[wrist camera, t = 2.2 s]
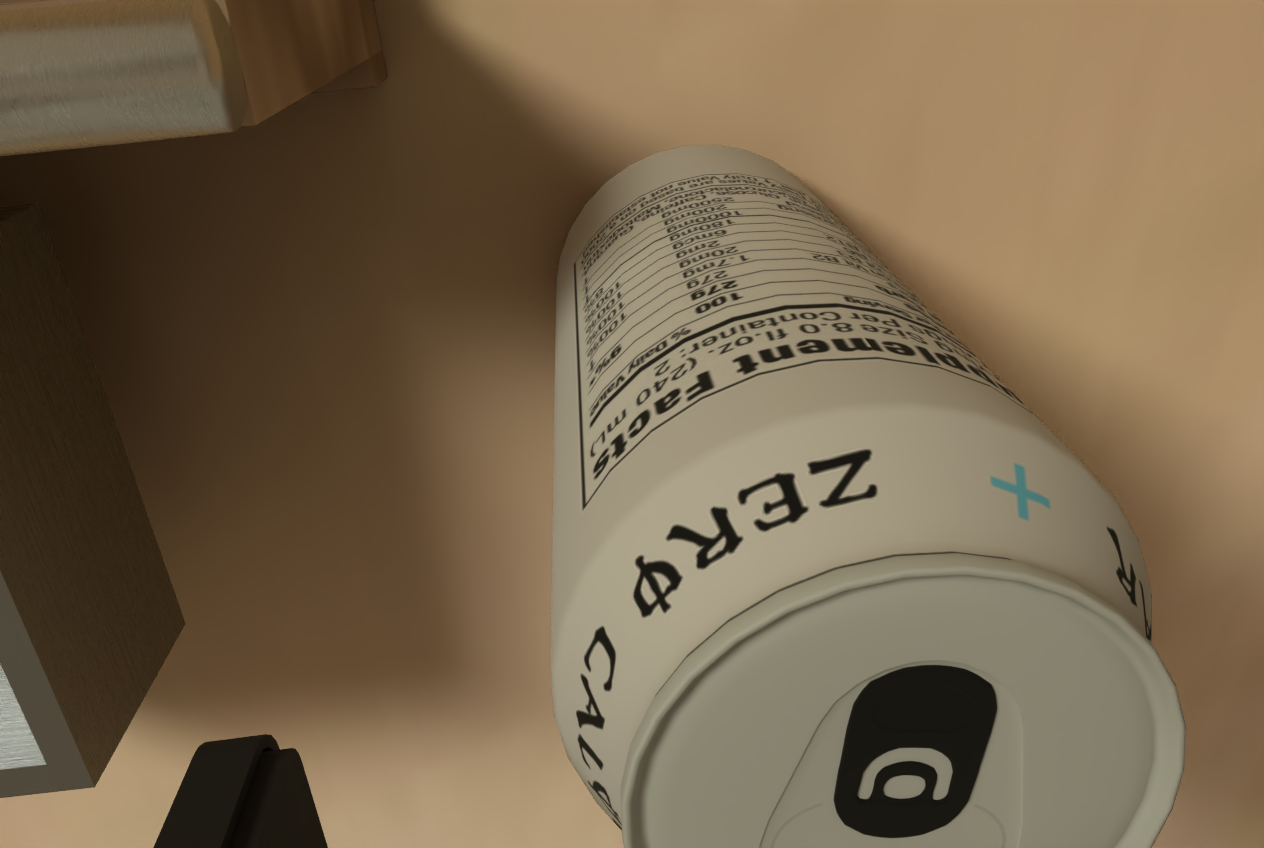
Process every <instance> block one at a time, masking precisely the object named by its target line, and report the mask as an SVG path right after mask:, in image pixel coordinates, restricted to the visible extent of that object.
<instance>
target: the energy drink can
mask: <svg viewBox="0 0 1264 848" xmlns="http://www.w3.org/2000/svg"><path fill="white" fill-rule="evenodd" d="M1151 618H1152V595H1151V588H1150V583H1149V579H1148V575H1147V571H1146V567H1145V563H1144V559H1143V555H1142V551H1141V547H1140V543H1139V540H1138V538H1137V536H1136V534H1135V532H1134V530H1133V529H1132V527H1131V525H1130V523H1129V521H1128V520H1127V518H1126V516H1125V514H1124V512H1123V510H1122V509H1121V507H1120V505H1119V503H1118V501H1117V500H1116V498H1115V496H1114V495H1113V494H1112V493H1111V492H1110V491H1109V490H1108V489H1107V488H1106V487H1105V486H1104V485H1103V484H1102V483H1101V482H1100V481H1099V480H1098V479H1097V478H1096V476H1095V475H1094V474H1093V473H1092V472H1091V471H1090V470H1089V469H1088V468H1087V467H1086V466H1085V465H1084V464H1083V463H1082V462H1081V461H1080V460H1079V459H1078V458H1077V457H1076V456H1075V455H1074V454H1073V453H1072V452H1071V451H1070V450H1069V449H1068V448H1067V447H1066V446H1065V445H1064V444H1063V443H1062V442H1061V441H1060V440H1059V439H1058V438H1057V437H1056V436H1055V435H1054V434H1053V433H1052V432H1051V431H1050V430H1049V429H1048V428H1047V427H1046V426H1045V425H1044V424H1043V423H1042V422H1041V421H1040V420H1039V419H1038V418H1037V417H1036V416H1035V415H1034V414H1033V413H1032V412H1031V411H1030V410H1029V409H1028V408H1027V407H1026V406H1025V405H1024V404H1023V403H1022V402H1021V401H1020V400H1019V399H1018V398H1017V397H1016V396H1015V395H1014V394H1013V393H1012V392H1011V391H1010V390H1009V389H1008V388H1007V387H1006V386H1005V385H1004V384H1003V383H1002V382H1001V381H1000V380H999V379H998V378H997V377H996V376H995V375H994V374H993V373H992V372H991V371H990V370H989V369H988V368H987V367H986V366H985V365H984V364H983V363H982V362H981V361H980V360H979V359H978V358H977V357H976V356H975V355H974V354H973V353H972V352H971V351H970V350H969V349H968V348H967V347H966V346H965V345H964V344H963V343H962V342H961V341H960V340H959V339H958V338H957V337H956V336H955V335H954V334H953V333H952V332H951V331H950V330H949V329H948V328H947V327H946V326H945V325H944V324H943V323H942V322H941V321H940V320H939V319H938V318H937V317H936V316H935V315H934V314H933V313H932V312H931V311H930V310H929V309H928V308H927V307H926V306H925V305H924V304H923V303H922V302H921V301H920V300H919V299H918V298H917V297H916V296H915V295H914V294H913V293H912V292H911V291H910V290H909V289H908V288H907V287H906V286H905V285H904V284H903V283H902V282H901V281H900V280H899V279H898V278H897V277H896V276H895V275H894V274H893V273H892V272H891V271H890V270H889V269H888V268H887V267H886V266H885V265H884V264H883V263H882V262H881V261H880V260H879V259H878V258H877V257H876V256H875V255H874V254H873V253H872V252H871V251H870V250H869V249H868V248H867V247H866V246H865V245H864V244H863V243H862V242H861V241H860V240H859V239H858V238H857V237H856V236H855V235H854V234H853V233H852V232H851V231H850V230H849V229H848V228H847V227H846V226H845V225H844V224H843V223H842V222H841V221H840V220H839V219H838V218H837V217H836V216H835V215H834V214H833V213H832V212H831V211H830V210H829V209H828V208H827V207H826V206H825V205H824V204H823V203H822V202H821V201H820V200H819V199H818V198H817V197H816V196H815V195H814V194H813V193H812V192H811V191H810V190H809V189H808V188H807V187H806V186H805V185H804V184H803V183H802V182H801V181H800V180H799V179H798V178H797V177H796V176H794V175H793V174H791V173H790V172H788V171H787V170H786V169H784V168H783V167H781V166H780V165H778V164H777V163H775V162H774V161H772V160H770V159H767V158H765V157H762V156H760V155H757V154H755V153H752V152H750V151H747V150H743V149H738V148H732V147H726V146H721V145H693V146H683V147H679V148H675V149H670V150H666V151H662V152H658V153H655V154H653V155H651V156H649V157H646V158H644V159H642V160H640V161H638V162H636V163H633V164H631V165H629V166H628V167H627V168H625V169H624V170H622V171H621V172H620V173H618V174H617V175H615V176H614V177H613V178H611V179H610V180H608V181H607V182H606V183H605V184H604V185H603V186H602V187H601V188H600V189H599V190H598V191H597V192H596V193H595V195H594V196H593V197H592V198H591V199H590V200H589V201H588V202H587V203H586V204H585V206H584V207H583V209H582V211H581V212H580V214H579V216H578V217H577V219H576V220H575V222H574V224H573V225H572V227H571V228H570V231H569V234H568V236H567V239H566V242H565V245H564V247H563V250H562V253H561V255H560V262H559V269H558V275H557V282H556V338H555V406H554V474H553V542H552V609H551V680H552V694H553V709H554V716H555V719H556V723H557V726H558V729H559V732H560V735H561V738H562V741H563V744H564V747H565V750H566V753H567V756H568V758H569V760H570V762H571V763H572V765H573V766H574V768H575V770H576V771H577V773H578V774H579V776H580V778H581V779H582V781H583V782H584V784H585V785H586V787H587V789H588V790H589V792H590V793H591V795H592V796H593V798H594V799H595V801H596V802H597V804H598V805H599V806H600V807H601V808H602V809H603V810H604V812H605V813H606V814H607V815H608V816H609V817H610V818H611V819H612V820H613V822H614V823H615V824H616V825H617V826H618V827H619V828H620V829H621V830H622V838H623V844H624V847H625V848H1151V847H1152V846H1153V844H1154V842H1155V840H1156V838H1157V836H1158V835H1159V833H1160V831H1161V829H1162V827H1163V825H1164V824H1165V822H1166V820H1167V818H1168V816H1169V814H1170V812H1171V811H1172V808H1173V805H1174V801H1175V798H1176V795H1177V791H1178V788H1179V784H1180V781H1181V777H1182V774H1183V770H1184V754H1185V721H1184V717H1183V713H1182V709H1181V705H1180V701H1179V697H1178V693H1177V689H1176V685H1175V683H1174V681H1173V679H1172V678H1171V676H1170V674H1169V672H1168V671H1167V669H1166V667H1165V665H1164V664H1163V662H1162V660H1161V659H1160V657H1159V655H1158V653H1157V652H1156V650H1155V648H1154V647H1153V645H1152V644H1151Z"/></svg>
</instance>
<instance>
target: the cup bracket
mask: <svg viewBox="0 0 1264 848" xmlns="http://www.w3.org/2000/svg"><path fill="white" fill-rule="evenodd" d="M385 78H387V73H386V67H385V62H384V57H383V51H382V46H381V41H380V35H379V30H378V25H377V19H376V14H375V9H374V3H373V0H0V156H9V155H19V154H29V153H38V152H48V151H57V150H67V149H77V148H86V147H96V146H106V145H115V144H125V143H134V142H144V141H154V140H163V139H173V138H183V137H192V136H202V135H212V134H221V133H231V132H236V131H238V130H239V129H240V127H246V126H255V125H257V124H259V123H261V122H262V121H264V120H266V119H267V118H269V117H271V116H272V115H274V114H276V113H278V112H279V111H281V110H283V109H284V108H286V107H288V106H289V105H291V104H293V103H294V102H296V101H298V100H299V99H301V98H303V97H304V96H306V95H308V94H309V93H319V92H329V91H338V90H348V89H358V88H367V87H375V86H376V85H378V84H379V83H380V82H381V81H383V80H384V79H385ZM184 625H185V621H184V618H183V615H182V613H181V610H180V607H179V604H178V601H177V598H176V595H175V593H174V590H173V587H172V584H171V581H170V578H169V575H168V572H167V570H166V567H165V564H164V561H163V558H162V555H161V552H160V550H159V547H158V544H157V541H156V538H155V535H154V532H153V530H152V527H151V524H150V521H149V518H148V515H147V512H146V510H145V507H144V504H143V501H142V498H141V495H140V492H139V490H138V487H137V484H136V481H135V478H134V475H133V472H132V470H131V467H130V464H129V461H128V458H127V455H126V452H125V450H124V447H123V444H122V441H121V438H120V435H119V432H118V430H117V427H116V424H115V421H114V418H113V415H112V412H111V410H110V407H109V404H108V401H107V398H106V395H105V392H104V390H103V387H102V384H101V381H100V378H99V375H98V372H97V369H96V367H95V364H94V361H93V358H92V355H91V352H90V349H89V347H88V344H87V341H86V338H85V335H84V332H83V329H82V327H81V324H80V321H79V318H78V315H77V312H76V309H75V307H74V304H73V301H72V298H71V295H70V292H69V289H68V287H67V284H66V281H65V278H64V275H63V272H62V269H61V267H60V264H59V261H58V258H57V255H56V252H55V249H54V247H53V244H52V241H51V238H50V235H49V232H48V229H47V227H46V224H45V221H44V218H43V215H42V212H41V209H40V207H39V204H29V205H19V206H9V207H0V798H5V797H13V796H22V795H31V794H40V793H48V792H57V791H66V790H74V789H83V788H92V787H95V786H96V784H97V782H98V780H99V779H100V777H101V775H102V773H103V771H104V770H105V768H106V766H107V764H108V762H109V761H110V759H111V757H112V755H113V753H114V752H115V750H116V748H117V746H118V744H119V742H120V741H121V739H122V737H123V735H124V733H125V732H126V730H127V728H128V726H129V724H130V723H131V721H132V719H133V717H134V715H135V714H136V712H137V710H138V708H139V706H140V705H141V703H142V701H143V699H144V697H145V696H146V694H147V692H148V690H149V688H150V687H151V685H152V683H153V681H154V679H155V677H156V676H157V674H158V672H159V670H160V668H161V667H162V665H163V663H164V661H165V659H166V658H167V656H168V654H169V652H170V650H171V649H172V647H173V645H174V643H175V641H176V640H177V638H178V636H179V634H180V632H181V631H182V629H183V627H184Z"/></svg>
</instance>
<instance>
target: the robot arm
mask: <svg viewBox="0 0 1264 848" xmlns="http://www.w3.org/2000/svg"><path fill="white" fill-rule="evenodd" d="M154 848H328V847H327V843H326V840H325V837H324V833H323V830H322V827H321V824H320V820H319V817H318V814H317V810H316V807H315V804H314V800H313V797H312V794H311V790H310V787H309V784H308V781H307V777H306V774H305V771H304V767H303V764H302V761H301V758H300V756H299V753H298V752H297V751H296V749H293V748H289V749H282V750H280V749H279V746H278V744H277V742H276V740H275V739H274V738H273V737H272V735H267V734H265V735H258V736H250V737H242V738H235V739H227V740H219V741H211V742H205V743H203V744H202V745H200V746H199V747H198V749H197V751H196V752H195V754H194V756H193V758H192V760H191V762H190V765H189V767H188V769H187V772H186V774H185V776H184V779H183V781H182V783H181V785H180V788H179V790H178V792H177V795H176V797H175V799H174V802H173V804H172V806H171V809H170V811H169V813H168V815H167V818H166V820H165V822H164V825H163V827H162V829H161V832H160V834H159V836H158V838H157V841H156V843H155V845H154Z"/></svg>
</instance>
